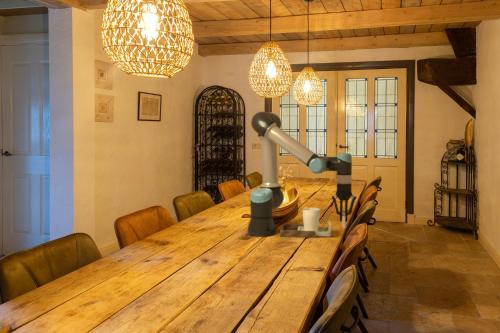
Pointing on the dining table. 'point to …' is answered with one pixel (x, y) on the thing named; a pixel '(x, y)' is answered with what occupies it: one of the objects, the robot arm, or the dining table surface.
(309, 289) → the dining table surface
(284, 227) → the dock
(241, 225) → the dining table surface
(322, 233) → the tray
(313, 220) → the cup
